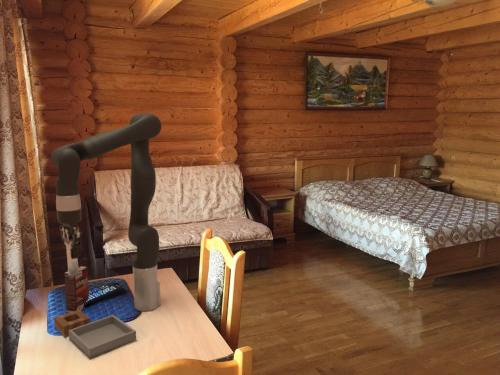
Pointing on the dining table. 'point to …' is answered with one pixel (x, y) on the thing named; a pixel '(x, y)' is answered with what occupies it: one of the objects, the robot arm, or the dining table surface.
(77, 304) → the supplement box
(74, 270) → the lock pin
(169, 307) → the dining table surface
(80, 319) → the pin holder
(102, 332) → the tray
